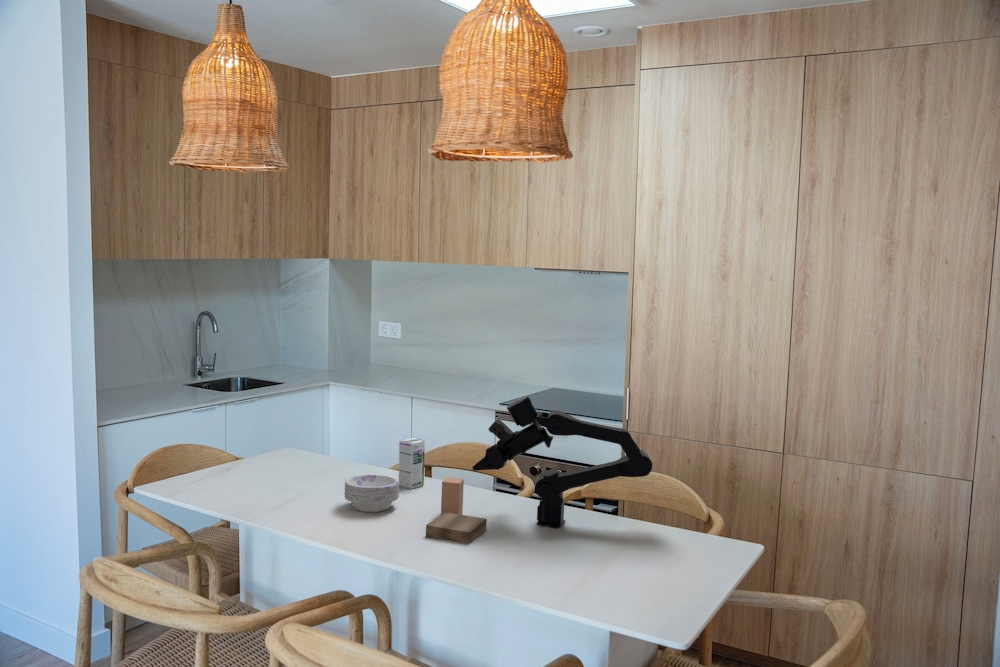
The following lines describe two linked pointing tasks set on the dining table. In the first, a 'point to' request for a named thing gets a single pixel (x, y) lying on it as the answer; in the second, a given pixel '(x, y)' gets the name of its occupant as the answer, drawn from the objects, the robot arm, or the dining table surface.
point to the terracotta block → (452, 495)
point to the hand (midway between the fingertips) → (477, 465)
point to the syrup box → (411, 463)
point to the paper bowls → (371, 492)
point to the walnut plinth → (456, 527)
